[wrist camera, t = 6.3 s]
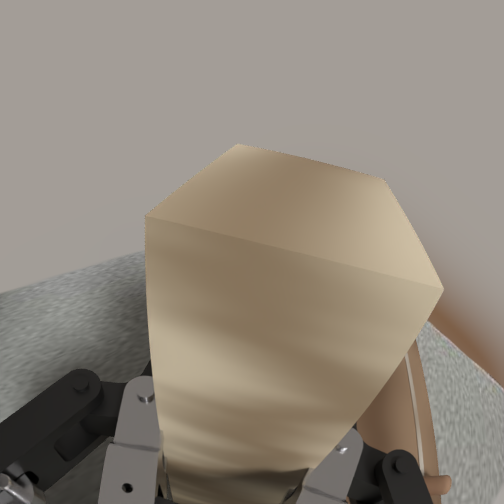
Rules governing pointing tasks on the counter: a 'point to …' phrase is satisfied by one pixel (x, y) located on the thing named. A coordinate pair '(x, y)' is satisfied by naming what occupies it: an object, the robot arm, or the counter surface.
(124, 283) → the counter surface
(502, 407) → the counter surface
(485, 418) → the counter surface
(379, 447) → the walnut board
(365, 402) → the l-shaped wooden block
